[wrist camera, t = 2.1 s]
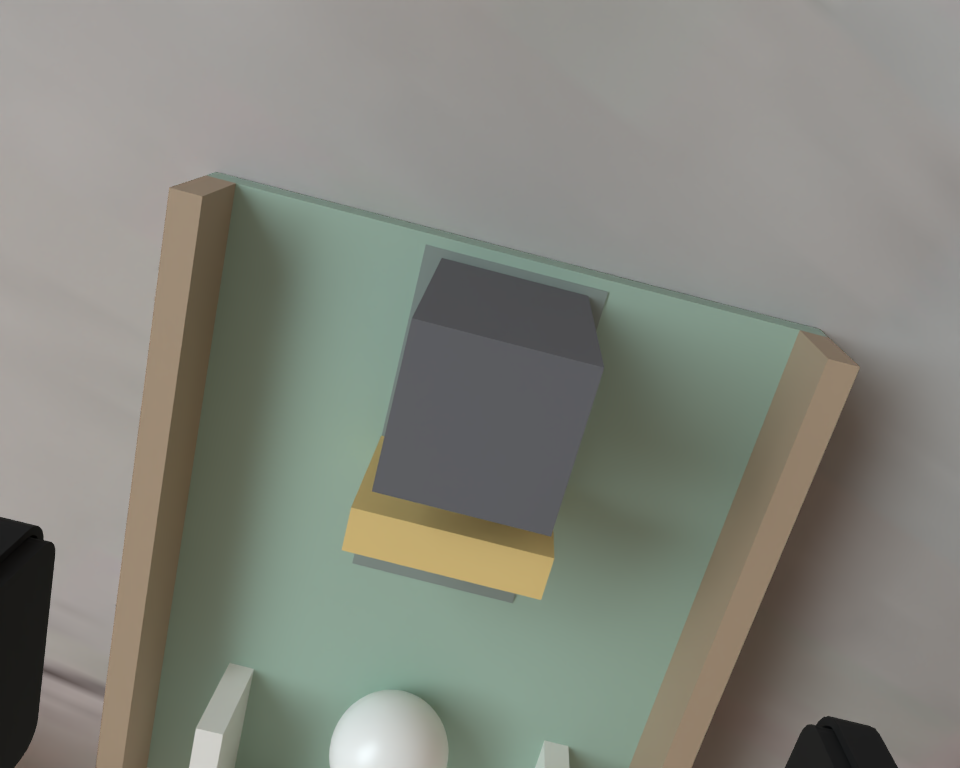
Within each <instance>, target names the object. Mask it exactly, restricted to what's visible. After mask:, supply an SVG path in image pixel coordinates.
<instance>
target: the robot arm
mask: <svg viewBox="0 0 960 768" xmlns="http://www.w3.org/2000/svg"><path fill="white" fill-rule="evenodd" d="M54 560H55V546H54V544H53V543H52V542H49V541H44V540H43V532H42V529H41V528H40V527H39V526H35V525H31V524H27V523H23V522H19V521H15V520H11V519H6V518H2V517H0V768H14V767H15V766H16V764H17V763H18V762H19V760H20V759H21V758H22V756H23V755H24V753H25V752H26V750H27V748H28V746H29V744H30V742H31V740H32V738H33V735H34V732H35V729H36V726H37V720H38V712H39V703H40V693H41V684H42V674H43V665H44V655H45V646H46V636H47V627H48V617H49V608H50V598H51V589H52V579H53V570H54ZM785 768H898V767H897V765H896V763H895V762H894V760H893V758H892V756H891V754H890V753H889V751H888V749H887V747H886V745H885V743H884V742H883V740H882V738H881V736H880V734H879V733H878V732H877V731H876V729H875V728H873V727H871V726H867V725H863V724H859V723H855V722H851V721H847V720H842V719H838V718H834V717H830V716H827V717H823V718H822V719H821V720H820V721H818V723H817V725H812V724H811V725H807V726H806V727H805V728H804V729H803V730H802V732H801V734H800V736H799V738H798V740H797V742H796V745H795V747H794V749H793V751H792V753H791V756H790V758H789V760H788V762H787V764H786V767H785Z"/></svg>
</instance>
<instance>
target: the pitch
mask: <svg viewBox="0 0 960 768" xmlns="http://www.w3.org/2000/svg"><path fill="white" fill-rule="evenodd" d="M441 258H444V259H448V260H452V261H456V262H460V263H464V264H467V265H471V266H475V267H479V268H483V269H487V270H491V271H494V272H498V273H502V274H506V275H510V276H514V277H517V278H521V279H525V280H529V281H533V282H537V283H541V284H544V285H548V286H552V287H556V288H560V289H564V290H567V291H571V292H575V293H579V294H583V295H587V296H588V297H589V301H590V306H591V310H592V315H593V319H594V324H595V328H596V333H597V337H598V342H599V346H600V351H601V355H602V360H603V364H604V370H603V373H602V377H601V380H600V383H599V386H598V389H597V392H596V396H595V399H594V402H593V405H592V408H591V411H590V415H589V418H588V421H587V424H586V427H585V430H584V434H583V437H582V440H581V443H580V446H579V449H578V453H577V456H576V459H575V462H574V465H573V468H572V472H571V475H570V478H569V481H568V484H567V487H566V491H565V494H564V497H563V500H562V503H561V506H560V510H559V513H558V516H557V519H556V522H555V525H554V529H553V532H554V561H553V565H552V568H551V571H550V574H549V577H548V580H547V583H546V586H545V590H544V593H543V596H542V599H541V600H539V599H535V598H531V597H527V596H523V595H519V594H515V593H511V592H507V591H503V590H499V589H495V588H491V587H487V586H483V585H479V584H475V583H471V582H467V581H463V580H459V579H455V578H451V577H447V576H443V575H439V574H435V573H431V572H427V571H423V570H419V569H415V568H411V567H407V566H403V565H399V564H395V563H391V562H387V561H383V560H379V559H375V558H371V557H367V556H363V555H359V554H355V553H351V552H347V551H343V550H342V546H343V541H344V537H345V532H346V528H347V523H348V519H349V514H350V510H351V506H352V504H353V502H354V499H355V497H356V494H357V492H358V490H359V487H360V485H361V483H362V480H363V478H364V475H365V473H366V471H367V468H368V466H369V464H370V461H371V459H372V456H373V454H374V452H375V449H376V447H377V445H378V442H379V440H380V437H381V436H385V432H386V428H387V423H388V419H389V415H390V410H391V406H392V402H393V397H394V393H395V389H396V384H397V380H398V376H399V372H400V367H401V363H402V359H403V354H404V350H405V346H406V341H407V337H408V333H409V328H410V324H411V320H412V317H413V315H414V313H415V311H416V309H417V307H418V305H419V303H420V301H421V299H422V297H423V295H424V293H425V291H426V289H427V287H428V285H429V283H430V281H431V279H432V277H433V275H434V273H435V270H436V268H437V266H438V264H439V262H440V260H441ZM859 369H860V367H859V366H858V365H857V364H856V363H855V362H854V361H853V360H852V359H851V358H850V357H849V356H848V355H847V354H845V353H844V352H843V351H842V350H841V349H840V348H839V347H838V346H837V345H836V344H835V343H834V342H833V341H832V340H830V339H829V338H828V337H827V336H826V335H825V334H824V333H823V332H822V331H821V330H820V329H817V328H813V327H809V326H805V325H801V324H797V323H794V322H790V321H786V320H782V319H778V318H774V317H771V316H767V315H763V314H759V313H755V312H751V311H748V310H744V309H740V308H736V307H732V306H728V305H725V304H721V303H717V302H713V301H709V300H705V299H702V298H698V297H694V296H690V295H686V294H682V293H679V292H675V291H671V290H667V289H663V288H659V287H656V286H652V285H648V284H644V283H640V282H636V281H632V280H629V279H625V278H621V277H617V276H613V275H609V274H606V273H602V272H598V271H594V270H590V269H586V268H583V267H579V266H575V265H571V264H567V263H563V262H560V261H556V260H552V259H548V258H544V257H540V256H537V255H533V254H529V253H525V252H521V251H517V250H514V249H510V248H506V247H502V246H498V245H494V244H491V243H487V242H483V241H479V240H475V239H471V238H468V237H464V236H460V235H456V234H452V233H448V232H444V231H441V230H437V229H433V228H429V227H425V226H421V225H418V224H414V223H410V222H406V221H402V220H398V219H395V218H391V217H387V216H383V215H379V214H375V213H372V212H368V211H364V210H360V209H356V208H352V207H349V206H345V205H341V204H337V203H333V202H329V201H326V200H322V199H318V198H314V197H310V196H306V195H303V194H299V193H295V192H291V191H287V190H283V189H280V188H276V187H272V186H268V185H264V184H260V183H257V182H253V181H249V180H245V179H241V178H237V177H233V176H230V175H226V174H222V173H218V172H215V173H212V174H209V175H206V176H203V177H200V178H197V179H194V180H191V181H188V182H185V183H182V184H179V185H176V186H173V187H170V188H169V194H168V202H167V210H166V218H165V225H164V233H163V241H162V249H161V257H160V265H159V273H158V280H157V288H156V296H155V304H154V312H153V320H152V328H151V335H150V343H149V351H148V359H147V367H146V375H145V383H144V391H143V398H142V406H141V414H140V422H139V430H138V438H137V446H136V453H135V461H134V469H133V477H132V485H131V493H130V501H129V508H128V516H127V524H126V532H125V540H124V548H123V556H122V563H121V571H120V579H119V587H118V595H117V603H116V611H115V618H114V626H113V634H112V642H111V650H110V658H109V666H108V673H107V681H106V689H105V697H104V705H103V713H102V721H101V728H100V736H99V744H98V752H97V760H96V768H147V767H149V768H189V765H190V759H191V754H192V748H193V742H194V736H195V731H196V727H197V725H198V723H199V721H200V719H201V717H202V715H203V713H204V711H205V710H206V708H207V706H208V704H209V702H210V700H211V698H212V696H213V694H214V692H215V690H216V688H217V686H218V684H219V682H220V680H221V678H222V677H223V675H224V673H225V671H226V669H227V667H228V665H229V663H232V664H236V665H240V666H244V667H248V668H252V669H254V671H253V676H252V681H251V687H250V692H249V697H248V702H247V707H246V712H245V717H244V722H243V727H242V733H241V738H240V743H239V748H238V753H237V758H236V763H235V768H330V764H329V749H330V743H331V738H332V735H333V732H334V729H335V727H336V725H337V723H338V721H339V720H340V718H341V717H342V715H343V714H344V713H345V712H346V710H347V709H348V708H349V707H350V706H351V705H352V704H353V703H355V702H356V701H358V700H359V699H361V698H362V697H364V696H366V695H368V694H371V693H373V692H377V691H381V690H401V691H406V692H409V693H412V694H414V695H416V696H418V697H420V698H421V699H423V700H424V701H425V702H426V703H428V704H429V705H430V706H431V707H432V708H433V710H434V711H435V712H436V713H437V715H438V716H439V718H440V719H441V721H442V723H443V726H444V728H445V731H446V735H447V740H448V749H449V753H448V763H447V768H535V766H536V763H537V760H538V758H539V755H540V752H541V749H542V746H543V743H544V740H545V741H549V742H553V743H557V744H562V745H566V746H568V748H569V768H692V765H693V763H694V760H695V758H696V756H697V753H698V751H699V749H700V746H701V744H702V741H703V739H704V737H705V734H706V732H707V730H708V727H709V725H710V722H711V720H712V718H713V715H714V713H715V711H716V708H717V706H718V703H719V701H720V699H721V696H722V694H723V692H724V689H725V687H726V684H727V682H728V680H729V677H730V675H731V673H732V670H733V668H734V665H735V663H736V661H737V658H738V656H739V654H740V651H741V649H742V646H743V644H744V642H745V639H746V637H747V635H748V632H749V630H750V627H751V625H752V623H753V620H754V618H755V616H756V613H757V611H758V608H759V606H760V604H761V601H762V599H763V597H764V594H765V592H766V589H767V587H768V585H769V582H770V580H771V578H772V575H773V573H774V570H775V568H776V566H777V563H778V561H779V559H780V556H781V554H782V551H783V549H784V547H785V544H786V542H787V540H788V537H789V535H790V532H791V530H792V528H793V525H794V523H795V521H796V518H797V516H798V513H799V511H800V509H801V506H802V504H803V502H804V499H805V497H806V494H807V492H808V490H809V487H810V485H811V483H812V480H813V478H814V475H815V473H816V471H817V468H818V466H819V464H820V461H821V459H822V456H823V454H824V452H825V449H826V447H827V445H828V442H829V440H830V437H831V435H832V433H833V430H834V428H835V426H836V423H837V421H838V418H839V416H840V414H841V411H842V409H843V407H844V404H845V402H846V399H847V397H848V395H849V392H850V390H851V388H852V385H853V383H854V381H855V378H856V376H857V373H858V371H859Z"/></svg>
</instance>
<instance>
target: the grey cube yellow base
mask: <svg viewBox="0 0 960 768" xmlns="http://www.w3.org/2000/svg"><path fill="white" fill-rule="evenodd" d="M603 370H604V364H603V360H602V355H601V351H600V346H599V342H598V337H597V333H596V328H595V324H594V319H593V315H592V310H591V306H590V301H589V297H588V296H587V295H583V294H579V293H575V292H571V291H567V290H564V289H560V288H556V287H552V286H548V285H544V284H541V283H537V282H533V281H529V280H525V279H521V278H517V277H514V276H510V275H506V274H502V273H498V272H494V271H491V270H487V269H483V268H479V267H475V266H471V265H467V264H464V263H460V262H456V261H452V260H448V259H444V258H441V260H440V262H439V264H438V266H437V268H436V270H435V273H434V275H433V277H432V279H431V281H430V283H429V285H428V287H427V289H426V291H425V293H424V295H423V297H422V299H421V301H420V303H419V305H418V307H417V309H416V311H415V313H414V315H413V317H412V320H411V324H410V328H409V333H408V337H407V341H406V346H405V350H404V354H403V359H402V363H401V367H400V372H399V376H398V380H397V384H396V389H395V393H394V397H393V402H392V406H391V410H390V415H389V419H388V423H387V428H386V432H385V436H381V437H380V440H379V442H378V445H377V447H376V449H375V452H374V454H373V456H372V459H371V461H370V464H369V466H368V468H367V471H366V473H365V475H364V478H363V480H362V483H361V485H360V487H359V490H358V492H357V494H356V497H355V499H354V502H353V504H352V506H351V510H350V514H349V519H348V523H347V528H346V532H345V537H344V541H343V546H342V550H343V551H347V552H351V553H355V554H359V555H363V556H367V557H371V558H375V559H379V560H383V561H387V562H391V563H395V564H399V565H403V566H407V567H411V568H415V569H419V570H423V571H427V572H431V573H435V574H439V575H443V576H447V577H451V578H455V579H459V580H463V581H467V582H471V583H475V584H479V585H483V586H487V587H491V588H495V589H499V590H503V591H507V592H511V593H515V594H519V595H523V596H527V597H531V598H535V599H539V600H541V599H542V596H543V593H544V590H545V586H546V583H547V580H548V577H549V574H550V571H551V568H552V565H553V561H554V532H553V529H554V525H555V522H556V519H557V516H558V513H559V510H560V506H561V503H562V500H563V497H564V494H565V491H566V487H567V484H568V481H569V478H570V475H571V472H572V468H573V465H574V462H575V459H576V456H577V453H578V449H579V446H580V443H581V440H582V437H583V434H584V430H585V427H586V424H587V421H588V418H589V415H590V411H591V408H592V405H593V402H594V399H595V396H596V392H597V389H598V386H599V383H600V380H601V377H602V373H603Z"/></svg>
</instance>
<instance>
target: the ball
mask: <svg viewBox="0 0 960 768" xmlns="http://www.w3.org/2000/svg"><path fill="white" fill-rule="evenodd" d="M448 753H449V749H448V740H447V735H446V731H445V728H444V726H443V723H442V721H441V719H440V718H439V716H438V715H437V713H436V712H435V711H434V710H433V708H432V707H431V706H430V705H429V704H428V703H426V702H425V701H424V700H423V699H421V698H420V697H418V696H416V695H414V694H412V693H409V692H406V691H401V690H381V691H377V692H373V693H371V694H368V695H366V696H364V697H362V698H361V699H359V700H358V701H356V702H355V703H353V704H352V705H351V706H350V707H349V708H348V709H347V710H346V712H345V713H344V714H343V715H342V717H341V718H340V720H339V721H338V723H337V725H336V727H335V729H334V732H333V735H332V738H331V743H330V749H329V764H330V768H447V763H448Z"/></svg>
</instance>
